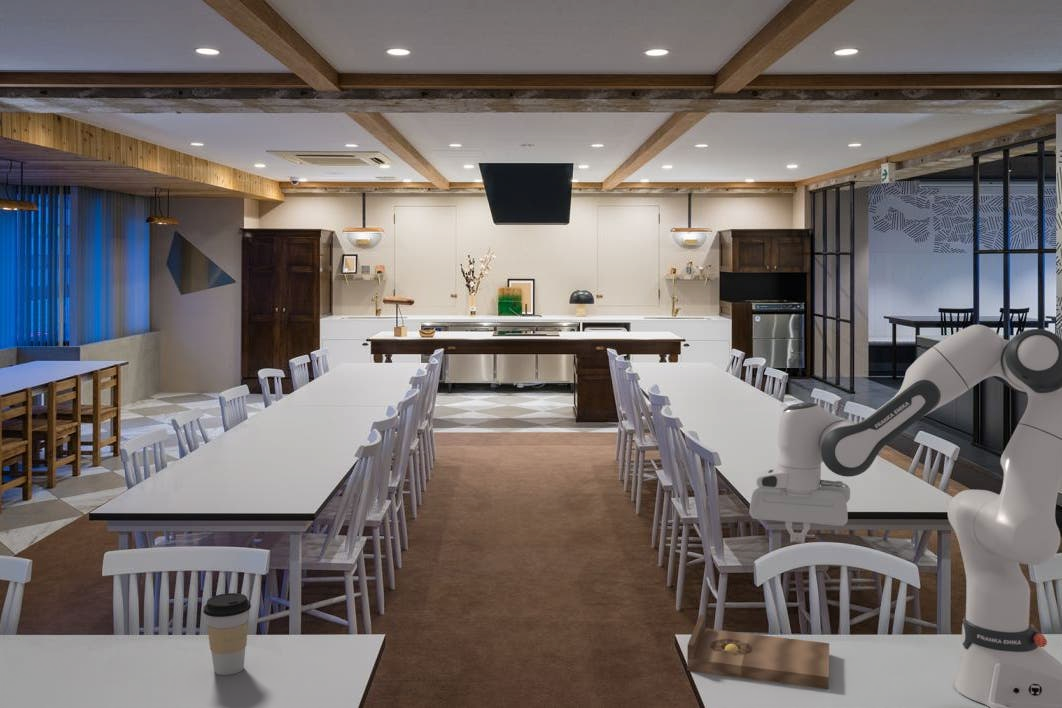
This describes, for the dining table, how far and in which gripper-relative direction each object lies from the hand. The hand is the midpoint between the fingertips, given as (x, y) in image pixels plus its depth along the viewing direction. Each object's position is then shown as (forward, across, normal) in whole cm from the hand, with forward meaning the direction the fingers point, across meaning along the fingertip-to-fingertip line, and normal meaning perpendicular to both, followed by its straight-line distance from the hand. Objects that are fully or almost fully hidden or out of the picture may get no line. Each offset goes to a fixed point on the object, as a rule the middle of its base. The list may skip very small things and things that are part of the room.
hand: (797, 542), depth 194 cm
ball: (+24, +13, +6) cm, 27 cm away
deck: (+25, +7, +6) cm, 27 cm away
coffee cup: (+26, +112, +45) cm, 123 cm away
